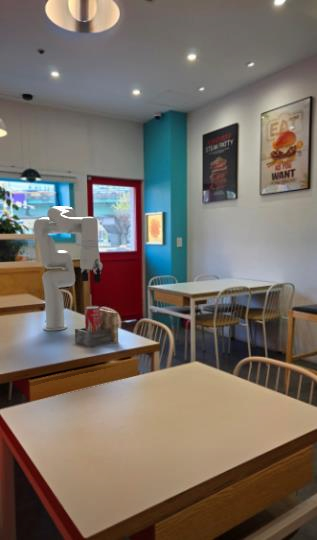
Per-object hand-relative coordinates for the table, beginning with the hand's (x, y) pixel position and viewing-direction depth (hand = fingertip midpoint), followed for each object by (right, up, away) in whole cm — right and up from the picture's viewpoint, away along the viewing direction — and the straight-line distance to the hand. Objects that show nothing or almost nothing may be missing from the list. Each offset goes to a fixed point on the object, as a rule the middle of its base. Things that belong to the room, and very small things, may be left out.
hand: (91, 281), depth 174 cm
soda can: (+1, -25, +2) cm, 25 cm away
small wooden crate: (+2, -28, +3) cm, 28 cm away
